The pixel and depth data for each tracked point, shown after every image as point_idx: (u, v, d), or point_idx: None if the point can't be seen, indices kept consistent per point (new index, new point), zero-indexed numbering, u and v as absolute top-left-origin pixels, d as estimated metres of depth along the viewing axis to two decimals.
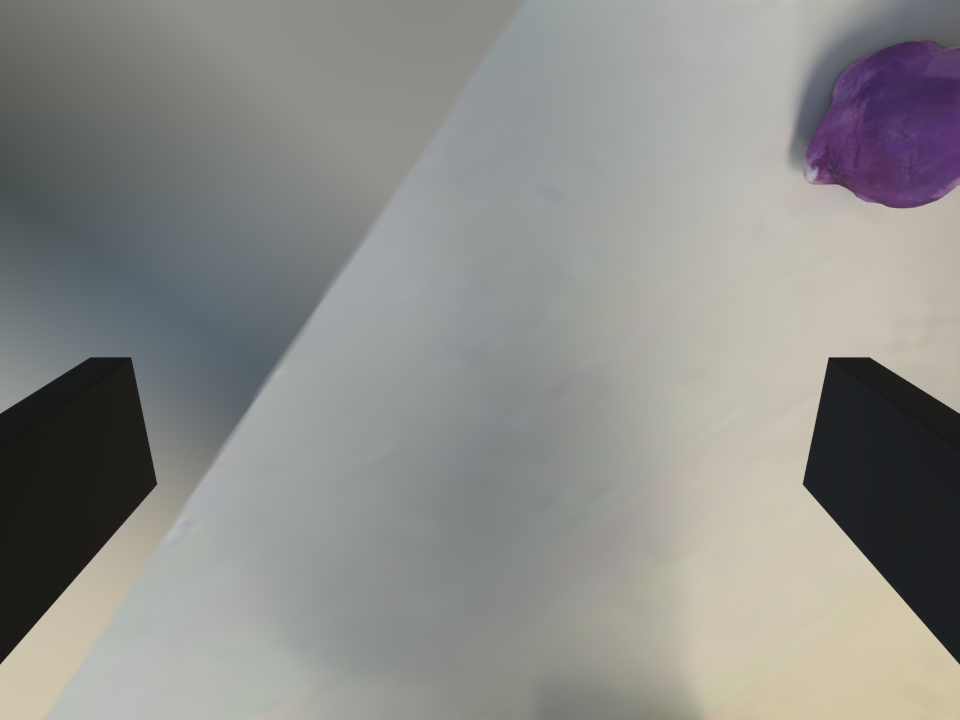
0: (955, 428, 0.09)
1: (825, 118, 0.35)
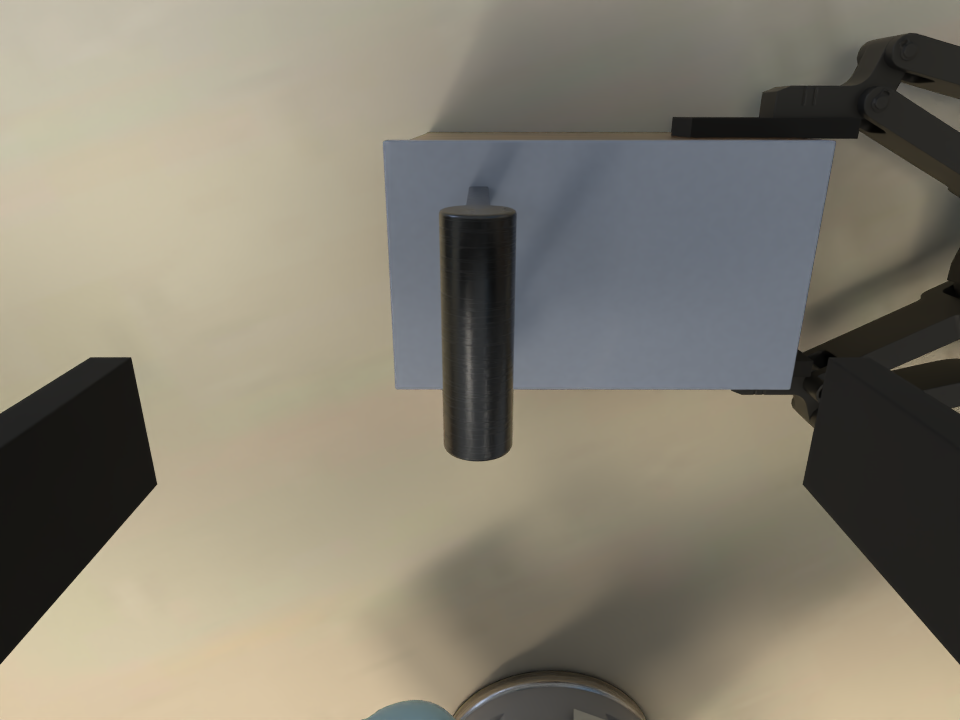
0: (955, 428, 0.09)
1: None
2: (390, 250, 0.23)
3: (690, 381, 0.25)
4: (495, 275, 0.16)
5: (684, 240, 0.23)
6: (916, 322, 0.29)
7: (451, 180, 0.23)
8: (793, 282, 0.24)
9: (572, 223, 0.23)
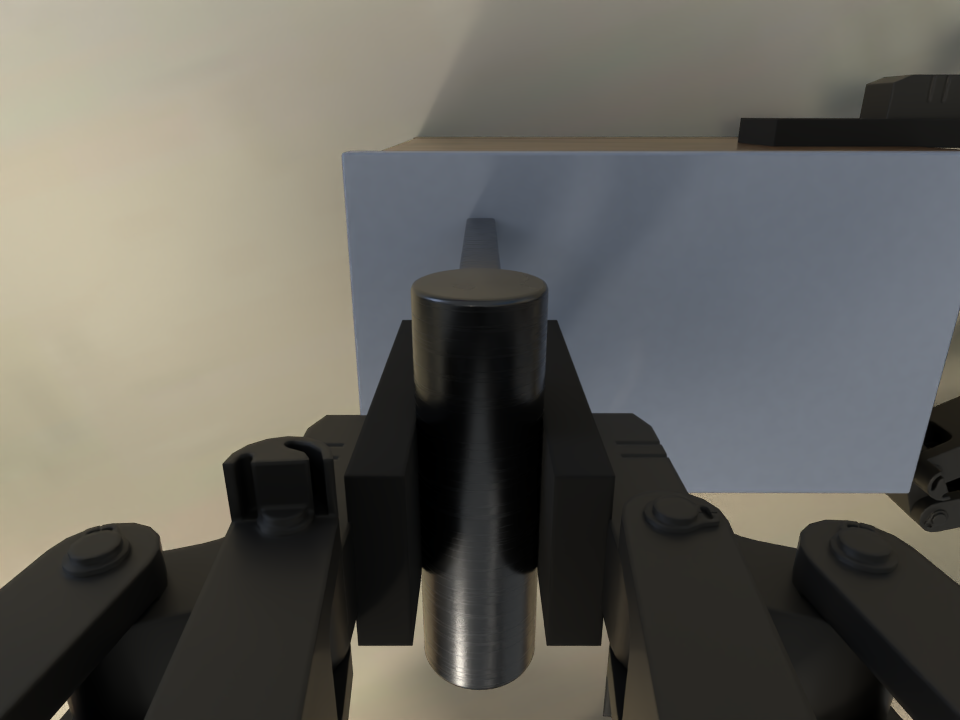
0: (552, 368, 0.11)
1: None
2: (355, 307, 0.17)
3: (772, 482, 0.18)
4: (511, 403, 0.09)
5: (773, 293, 0.16)
6: None
7: (441, 209, 0.16)
8: (925, 351, 0.17)
9: (614, 270, 0.16)
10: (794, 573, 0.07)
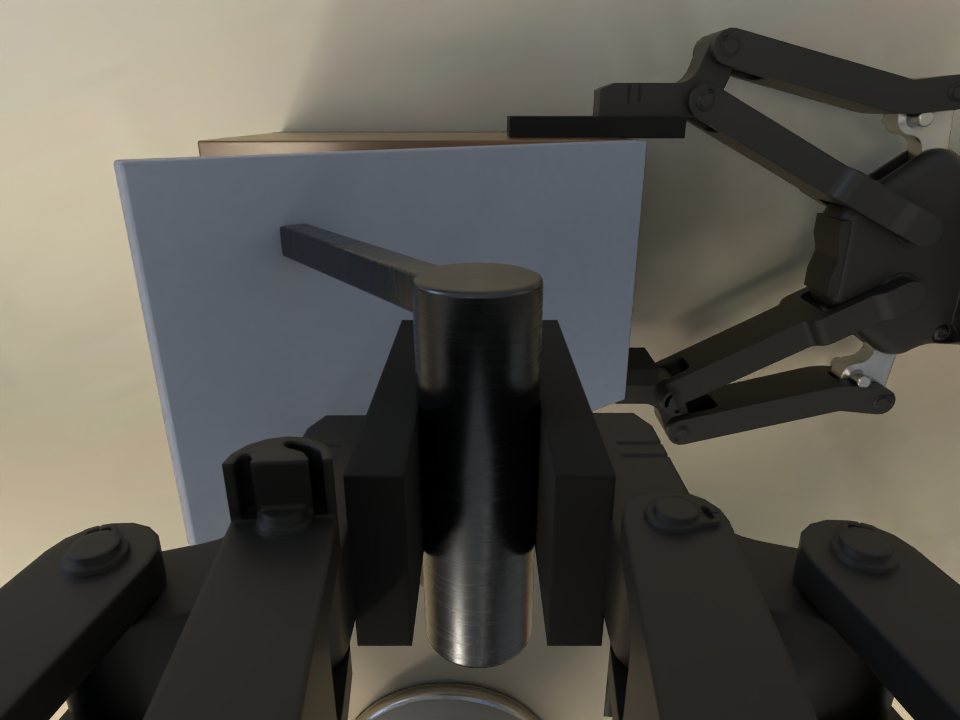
0: (552, 368, 0.11)
1: None
2: (160, 346, 0.14)
3: None
4: (536, 378, 0.10)
5: (534, 263, 0.20)
6: (767, 329, 0.28)
7: (250, 219, 0.14)
8: (623, 291, 0.23)
9: None
10: (795, 573, 0.07)
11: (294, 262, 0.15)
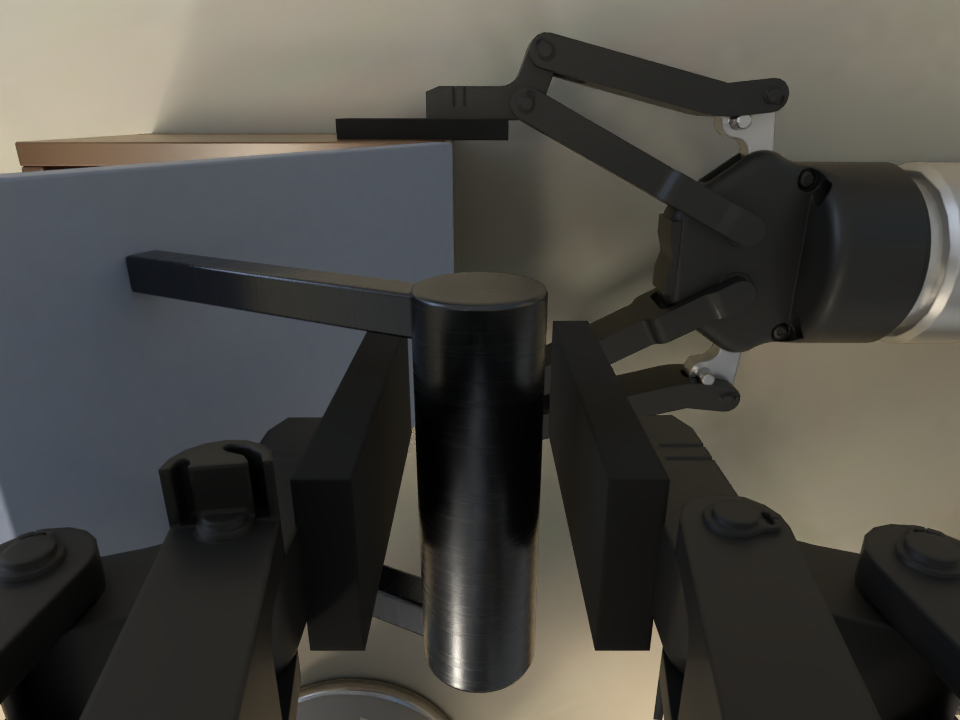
0: (590, 370, 0.11)
1: None
2: None
3: None
4: (543, 382, 0.10)
5: (375, 271, 0.19)
6: (612, 328, 0.28)
7: (88, 251, 0.11)
8: None
9: None
10: (858, 578, 0.07)
11: (146, 298, 0.12)
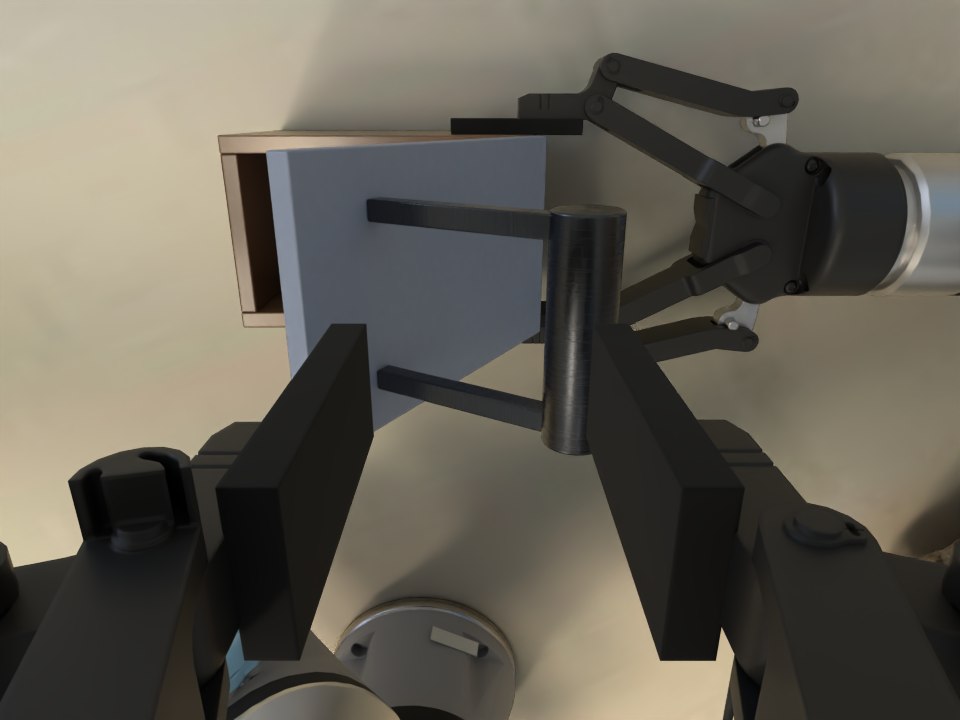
0: (641, 374, 0.11)
1: None
2: (303, 292, 0.18)
3: (501, 347, 0.29)
4: None
5: None
6: (657, 284, 0.35)
7: (351, 194, 0.19)
8: (537, 247, 0.30)
9: None
10: (947, 589, 0.07)
11: (373, 226, 0.20)
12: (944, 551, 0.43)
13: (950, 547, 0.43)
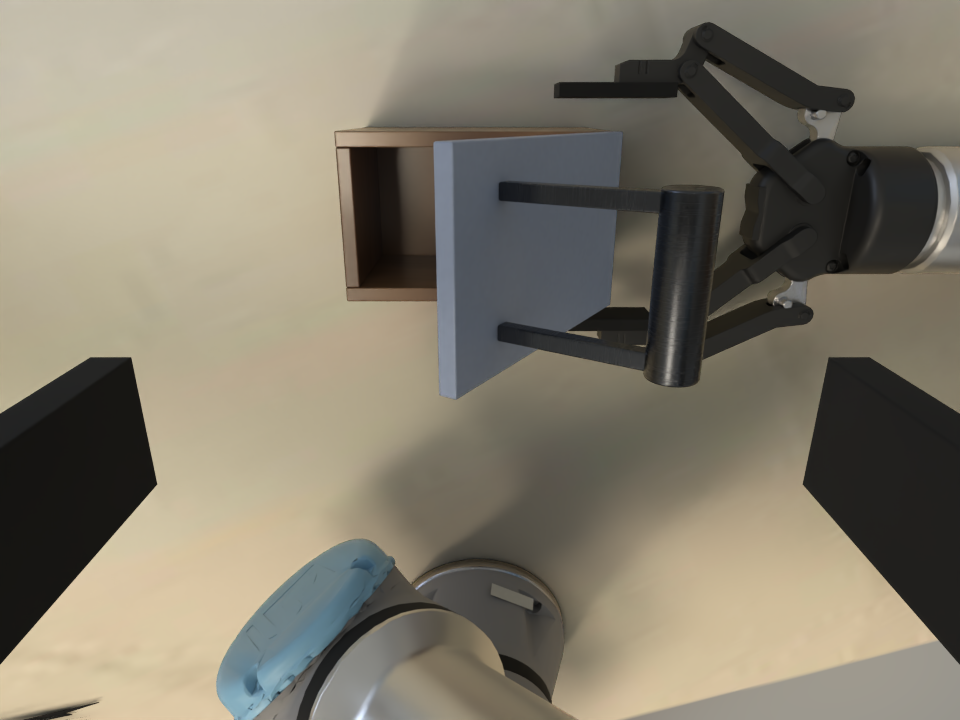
0: (955, 428, 0.09)
1: None
2: (455, 255, 0.23)
3: (581, 315, 0.34)
4: None
5: (581, 209, 0.31)
6: (719, 280, 0.40)
7: (489, 177, 0.24)
8: (611, 229, 0.35)
9: (542, 206, 0.27)
10: None
11: (502, 205, 0.25)
12: None
13: None
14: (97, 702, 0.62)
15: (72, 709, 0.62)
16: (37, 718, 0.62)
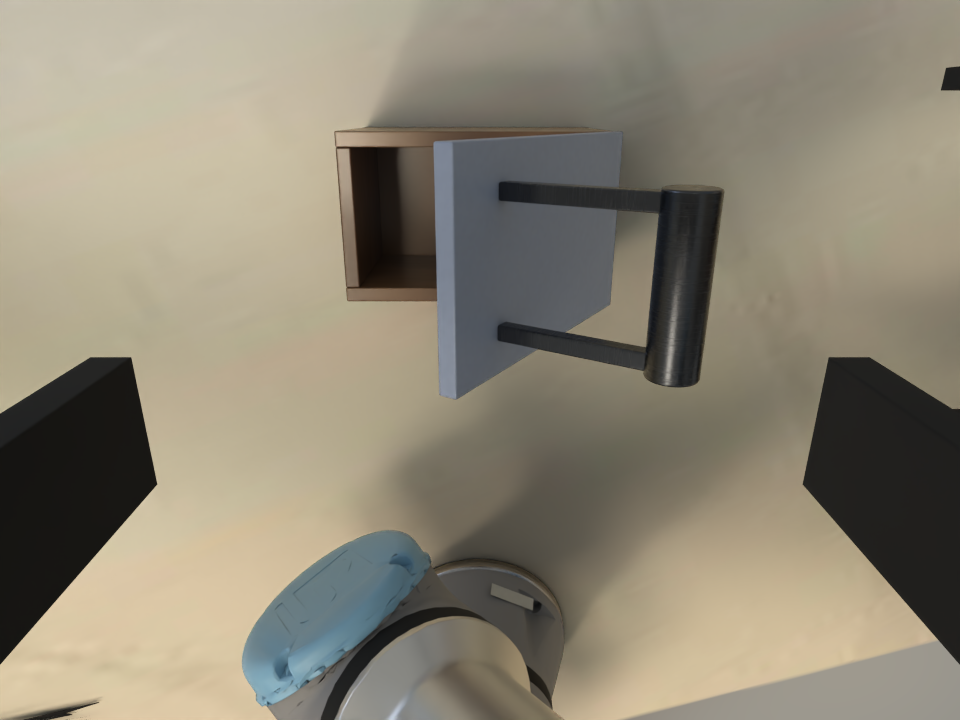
0: (955, 428, 0.09)
1: None
2: (456, 255, 0.23)
3: (582, 315, 0.34)
4: None
5: (581, 209, 0.31)
6: None
7: (489, 177, 0.24)
8: (612, 229, 0.35)
9: (542, 206, 0.27)
10: None
11: (502, 204, 0.25)
12: None
13: None
14: (97, 702, 0.62)
15: (72, 709, 0.62)
16: (37, 718, 0.62)
